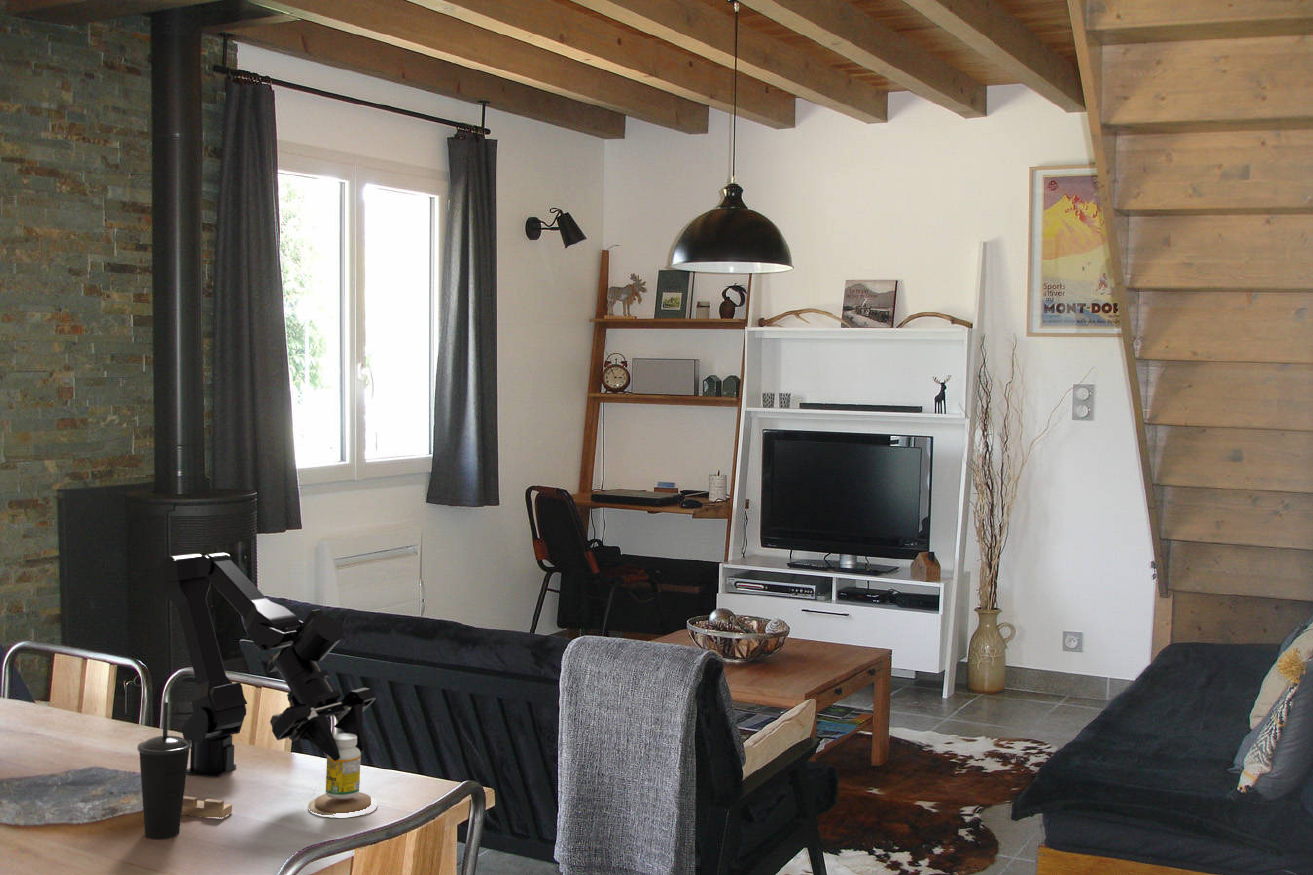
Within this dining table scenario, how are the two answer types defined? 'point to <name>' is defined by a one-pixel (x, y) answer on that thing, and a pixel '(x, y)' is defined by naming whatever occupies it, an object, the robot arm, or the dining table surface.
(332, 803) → the base
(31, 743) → the dining table surface
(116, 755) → the dining table surface
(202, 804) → the notched board
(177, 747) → the drinking cup
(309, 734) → the robot arm
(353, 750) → the supplement bottle
